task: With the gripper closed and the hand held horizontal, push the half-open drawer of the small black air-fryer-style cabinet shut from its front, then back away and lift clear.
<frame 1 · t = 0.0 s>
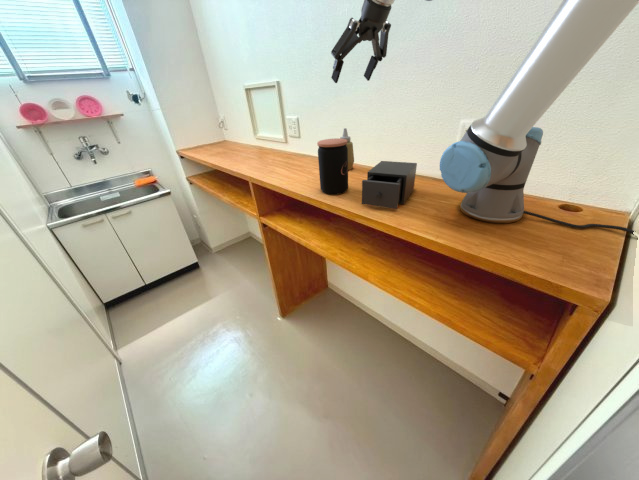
hand: (350, 79, 85), 36 cm above the table, tool tilted 35°, fingers open, 13 cm apart
coffee jar: (334, 190, 97), on the table
squeeze bottle: (345, 169, 121), on the table
cabinet: (390, 194, 90), on the table
drawer: (385, 188, 82), point 5 cm above the table, slide at 5.0 cm
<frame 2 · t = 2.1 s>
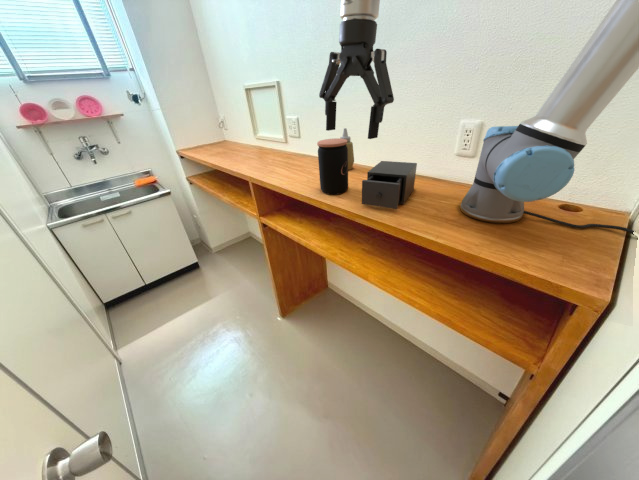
hand: (350, 133, 62), 24 cm above the table, tool pointing down, fingers open, 13 cm apart
nothing on the table moved.
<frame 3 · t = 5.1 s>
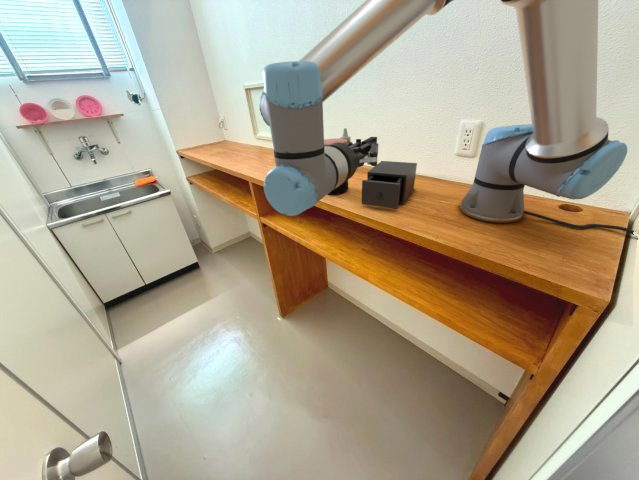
hand: (373, 142, 64), 21 cm above the table, tool horizontal, fingers closed
nothing on the table moved.
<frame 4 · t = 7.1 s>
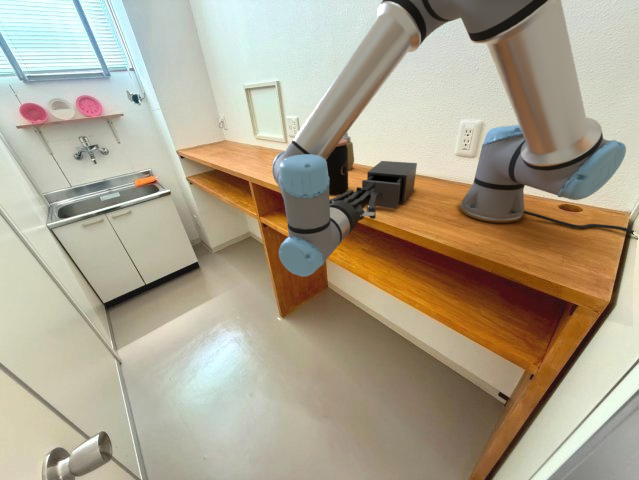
hand: (372, 186, 70), 10 cm above the table, tool horizontal, fingers closed
nothing on the table moved.
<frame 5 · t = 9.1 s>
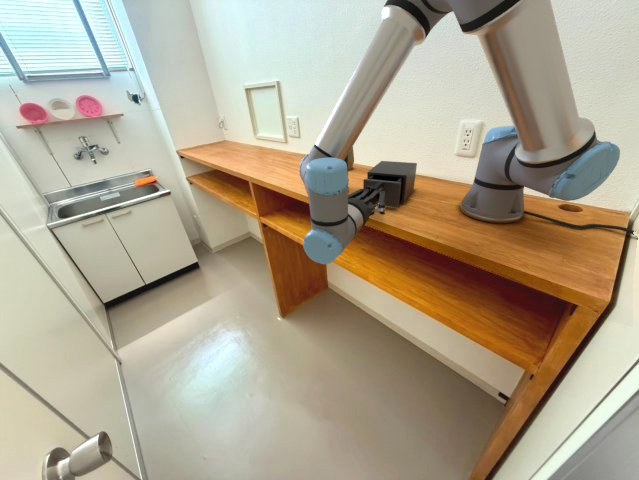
hand: (380, 185, 77), 7 cm above the table, tool horizontal, fingers closed
drawer: (386, 187, 83), point 5 cm above the table, slide at 3.9 cm, touching gripper
everything else where it was.
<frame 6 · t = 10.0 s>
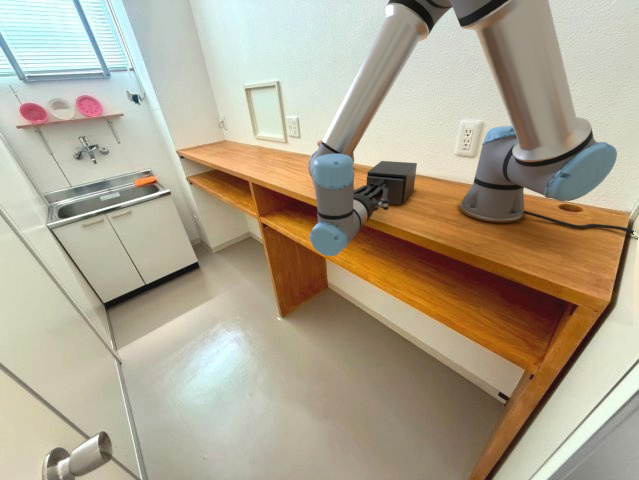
hand: (383, 182, 79), 7 cm above the table, tool horizontal, fingers closed
drawer: (388, 184, 85), point 5 cm above the table, slide at 1.1 cm, touching gripper
everything else where it was.
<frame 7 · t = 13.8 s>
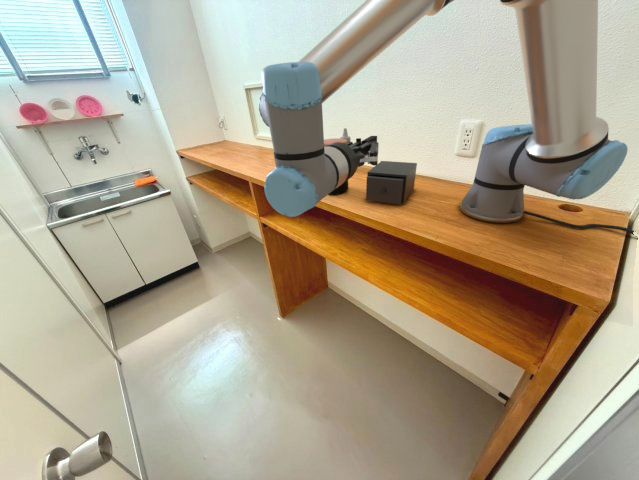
hand: (374, 141, 64), 22 cm above the table, tool horizontal, fingers closed
drawer: (388, 184, 85), point 5 cm above the table, slide at 1.1 cm
everything else where it was.
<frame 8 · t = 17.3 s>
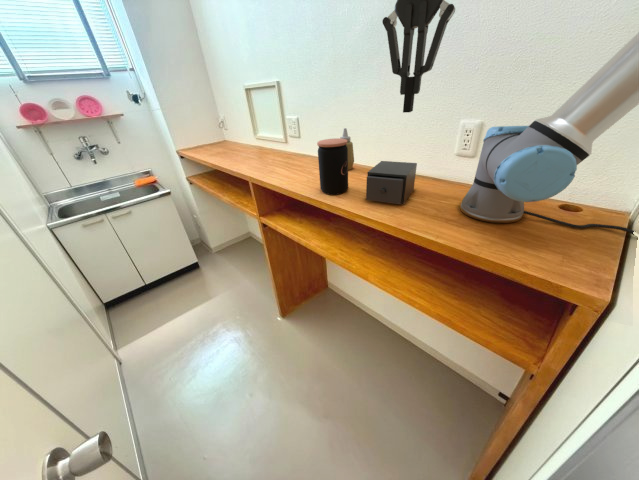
hand: (407, 111, 55), 28 cm above the table, tool pointing down, fingers closed
nothing on the table moved.
at the end: drawer slide at 1.1 cm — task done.
